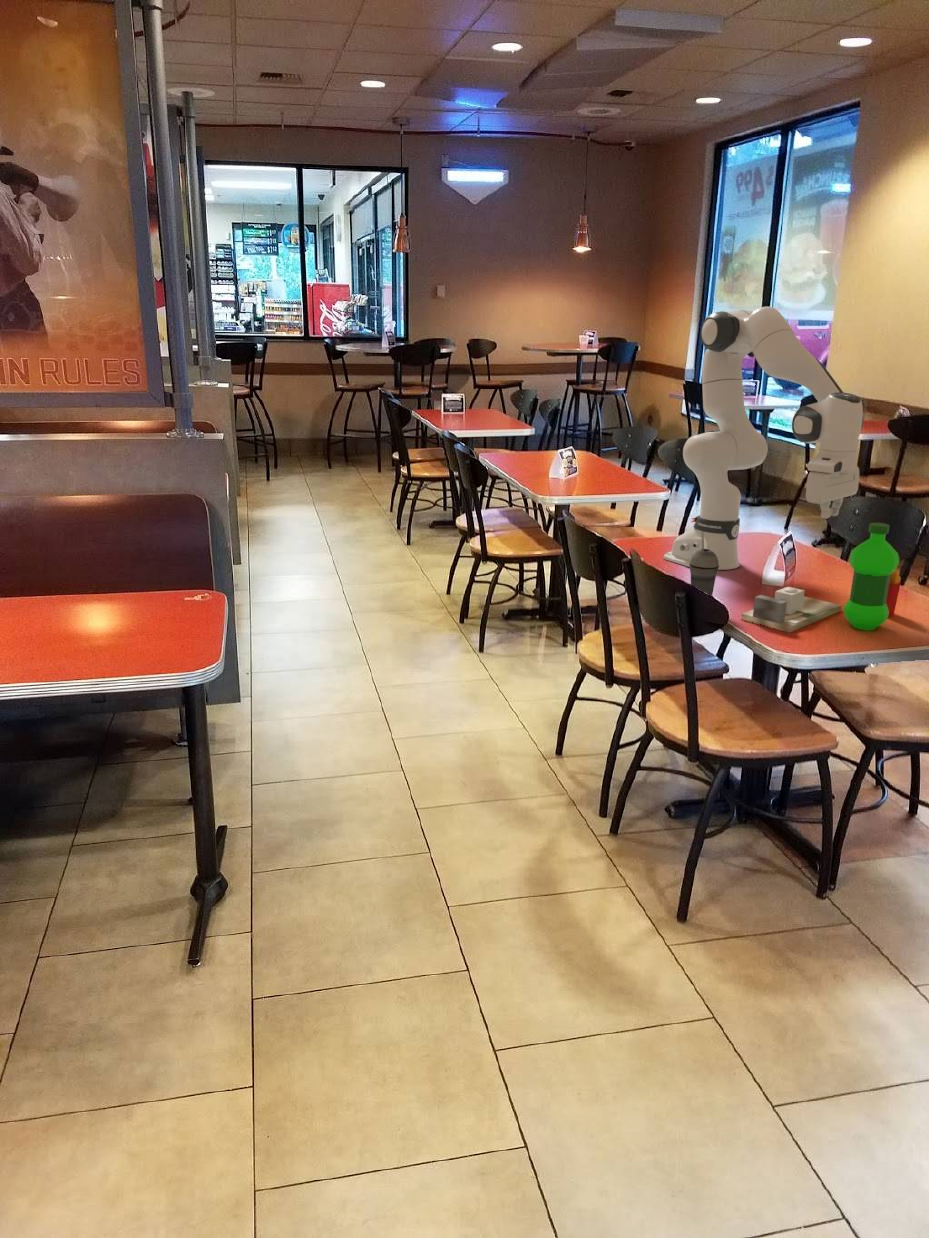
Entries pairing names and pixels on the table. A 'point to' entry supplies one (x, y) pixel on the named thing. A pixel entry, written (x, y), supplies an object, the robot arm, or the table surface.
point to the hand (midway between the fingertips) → (829, 516)
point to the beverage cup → (704, 569)
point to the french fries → (893, 592)
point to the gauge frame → (775, 617)
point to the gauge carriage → (791, 599)
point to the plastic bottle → (871, 579)
